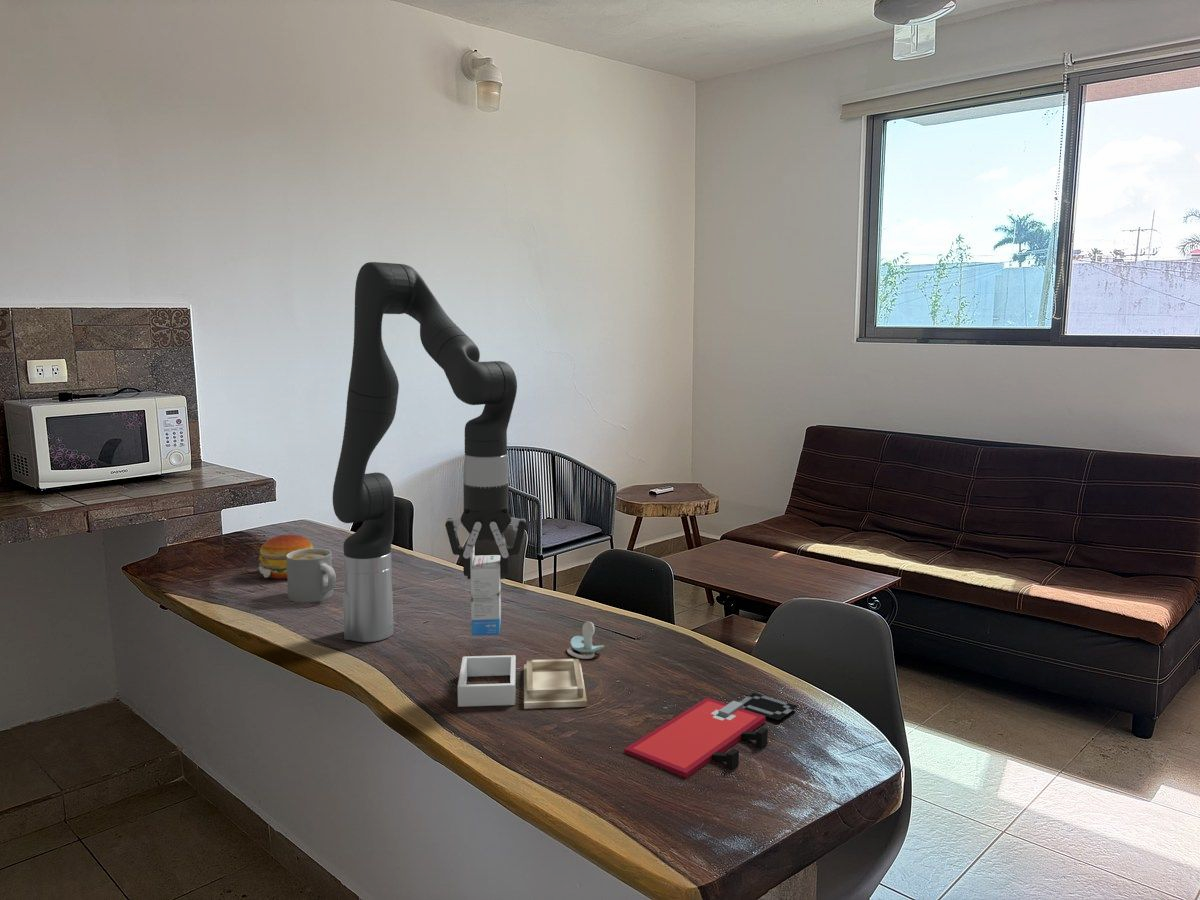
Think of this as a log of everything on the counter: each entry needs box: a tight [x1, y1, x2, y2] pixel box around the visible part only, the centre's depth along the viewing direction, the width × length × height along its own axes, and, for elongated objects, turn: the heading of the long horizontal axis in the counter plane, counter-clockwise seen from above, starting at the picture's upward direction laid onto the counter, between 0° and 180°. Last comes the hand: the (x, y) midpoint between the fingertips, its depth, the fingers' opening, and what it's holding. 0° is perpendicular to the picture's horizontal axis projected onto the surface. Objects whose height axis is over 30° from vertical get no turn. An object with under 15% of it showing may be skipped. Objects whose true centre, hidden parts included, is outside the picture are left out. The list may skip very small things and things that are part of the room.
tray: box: [523, 658, 588, 710], centre depth 151 cm, size 10×16×2 cm, turn 5°
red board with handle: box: [623, 692, 799, 779], centre depth 136 cm, size 30×3×15 cm
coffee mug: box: [286, 547, 337, 603], centre depth 198 cm, size 13×10×10 cm
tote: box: [457, 654, 517, 708], centre depth 150 cm, size 10×13×4 cm
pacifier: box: [566, 620, 605, 660], centre depth 167 cm, size 7×6×6 cm
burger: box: [258, 533, 314, 579], centre depth 216 cm, size 14×14×10 cm
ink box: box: [470, 544, 502, 637], centre depth 148 cm, size 9×5×15 cm, turn 5°
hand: (486, 577), depth 148 cm, fingers closed on ink box, 5 cm apart
